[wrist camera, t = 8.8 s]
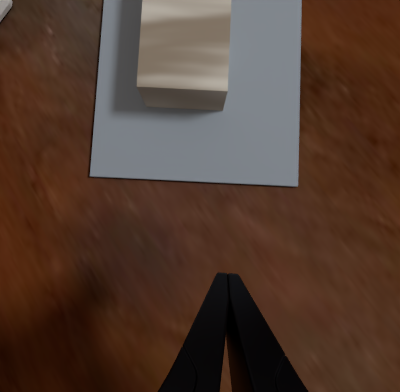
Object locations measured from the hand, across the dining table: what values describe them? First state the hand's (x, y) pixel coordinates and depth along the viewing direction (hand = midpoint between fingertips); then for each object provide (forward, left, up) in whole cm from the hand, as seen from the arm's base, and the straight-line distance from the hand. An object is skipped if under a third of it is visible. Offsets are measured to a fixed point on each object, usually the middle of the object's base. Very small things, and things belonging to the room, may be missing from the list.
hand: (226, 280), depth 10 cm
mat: (+15, +4, -9) cm, 17 cm away
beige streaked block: (+10, +5, -7) cm, 13 cm away
